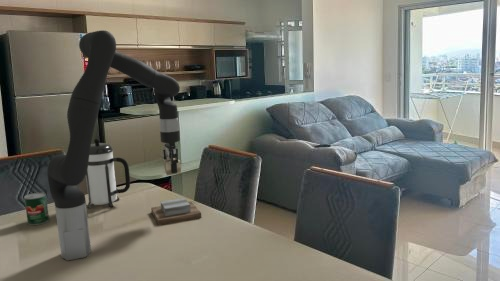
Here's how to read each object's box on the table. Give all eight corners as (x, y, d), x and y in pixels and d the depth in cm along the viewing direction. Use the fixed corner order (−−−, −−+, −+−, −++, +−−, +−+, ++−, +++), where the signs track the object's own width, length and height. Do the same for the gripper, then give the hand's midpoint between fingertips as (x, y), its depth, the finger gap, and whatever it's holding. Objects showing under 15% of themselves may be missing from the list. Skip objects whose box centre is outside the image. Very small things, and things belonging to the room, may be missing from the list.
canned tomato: (47, 216, 179) (43, 191, 177) (51, 221, 173) (47, 195, 171) (26, 221, 175) (22, 195, 173) (29, 226, 169) (25, 200, 167)
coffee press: (95, 213, 181) (87, 143, 176) (80, 204, 193) (73, 139, 188) (132, 202, 193) (126, 137, 187) (116, 195, 205) (110, 133, 199)
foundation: (201, 217, 171) (200, 205, 170) (158, 225, 165) (157, 212, 164) (191, 205, 186) (190, 194, 185) (151, 212, 180) (150, 200, 179)
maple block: (181, 173, 171) (180, 159, 170) (167, 175, 169) (166, 160, 168) (178, 170, 176) (177, 156, 175) (164, 172, 174) (163, 158, 173)
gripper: (183, 131, 164) (186, 174, 167) (175, 126, 177) (177, 166, 180) (163, 133, 161) (166, 176, 164) (156, 128, 174) (160, 168, 177)
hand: (172, 171), depth 172 cm, fingers closed on maple block, 5 cm apart
